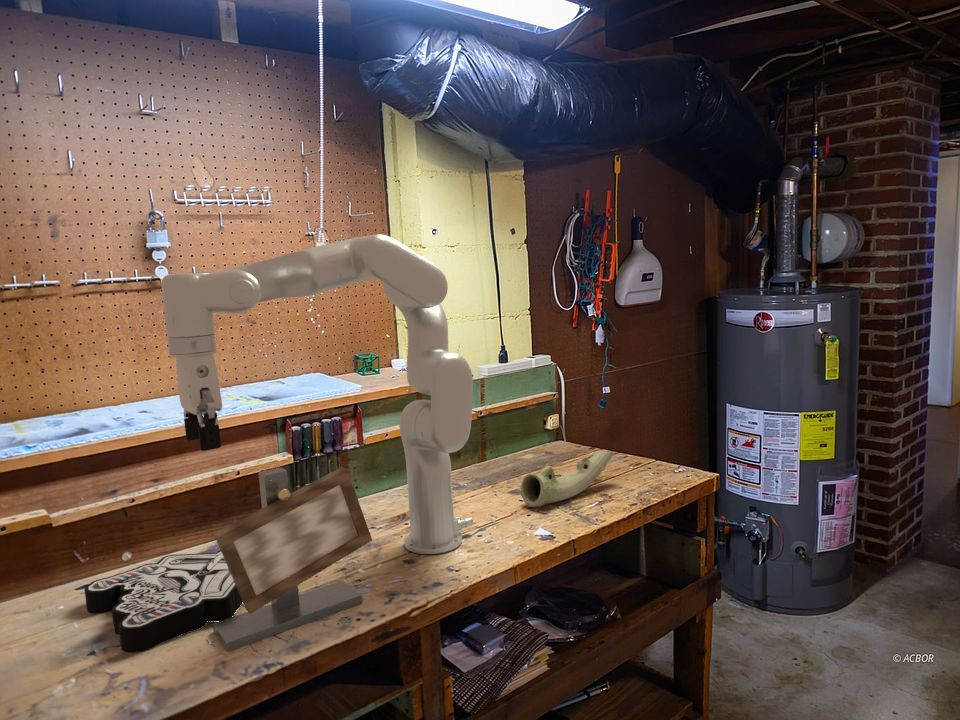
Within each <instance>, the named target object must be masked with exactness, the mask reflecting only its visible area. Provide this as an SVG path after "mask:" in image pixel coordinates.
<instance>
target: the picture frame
mask: <svg viewBox="0 0 960 720" xmlns="http://www.w3.org/2000/svg"><path fill="white" fill-rule="evenodd" d="M356 493H357V492H356V491H355V487H354V484H353V482H352V480H351V477H350V473H349V471H348V469H347V468H346V467H344V466H340V467H339V468H337V469H335V470H333V471H331V472H329V473H328V474H327V473H326V475H324V476H322V477H320V478H318V479H316V480H315V481H312V482H311V483H308V484H307V485H304V486H302V487H301V488H299V489H297V490H295V491H293V492H290V498H289V499H288V500H286V501H281V500H278V501H276V502H274V503H272V504H270V505H268V506H266V507H264V508H262V507H261V509H258V510H257V511H255V512H253V513H251V514H249V515H246V516H245V517H244V518H241V519H239V520H238V521H237V520H236V522H234V523H231V524H230V525H228V526H226V527H224V528H222V529H220V530H219V531H217V532H215V533H213V536H214V538H215V541H216V543H217V544H218V548H219V551H220V550H221V552H222V554H223V557H224V559H225V561H226V564H227V566H228V568H229V571H230V573H231V575H232V578H233V580H234V582H235V584H236V587H237V589H238V591H239V594H240V596H241V598H242V601H243V604H244V607H245V610H246V611H247V612H249V613H250V614H251V613H253V612H255V611H256V610H258V609H259V608H261V607H264V606H267V605H269V603H271V601H273V600H274V599H276V598H278V597H279V596H281V595H283V594H284V593H286V592H288V591H289V590H291V589H293V588H294V587H296V586H298V587H299V585H301V584H302V583H304V582H306V581H308V580H309V579H311V578H313V577H315V576H316V575H317V574H319V573H321V572H322V571H324V570H326V569H328V568H329V567H331V566H332V565H334V564H336V563H337V562H339V561H340V560H342V559H344V558H346V557H348V556H349V555H350V554H352V553H354V552H356V551H357V550H359V549H361V548H362V547H364V546H366V545H367V544H368V543H370V542H372V541H373V538H372V535H371V533H370V529H369V527H368V523H367V521H366V519H365V516H364V512H363V510H362V507H361V504H360V502H359V499H358V496H357V494H356Z"/></svg>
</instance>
